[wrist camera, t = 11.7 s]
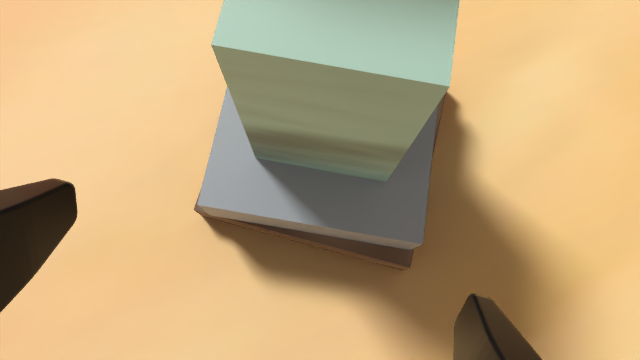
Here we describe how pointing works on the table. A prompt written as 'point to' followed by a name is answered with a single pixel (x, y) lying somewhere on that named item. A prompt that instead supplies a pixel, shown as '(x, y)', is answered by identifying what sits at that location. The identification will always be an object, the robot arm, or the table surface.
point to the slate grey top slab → (317, 190)
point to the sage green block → (336, 77)
